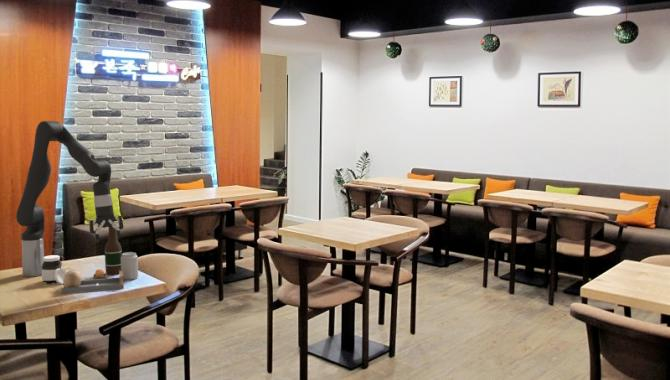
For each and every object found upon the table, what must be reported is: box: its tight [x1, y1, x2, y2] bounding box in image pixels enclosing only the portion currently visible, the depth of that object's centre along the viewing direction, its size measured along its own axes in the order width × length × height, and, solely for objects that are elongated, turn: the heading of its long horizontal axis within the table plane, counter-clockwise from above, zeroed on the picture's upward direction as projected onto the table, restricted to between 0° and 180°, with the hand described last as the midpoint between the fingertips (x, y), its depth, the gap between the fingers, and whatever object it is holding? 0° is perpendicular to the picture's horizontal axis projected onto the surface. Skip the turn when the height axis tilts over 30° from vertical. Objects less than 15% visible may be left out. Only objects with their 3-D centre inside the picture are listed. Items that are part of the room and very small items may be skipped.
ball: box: [94, 268, 106, 277], centre depth 286 cm, size 4×4×4 cm
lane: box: [61, 277, 121, 295], centre depth 277 cm, size 23×11×2 cm, turn 109°
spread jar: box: [41, 254, 68, 285], centre depth 285 cm, size 12×11×12 cm
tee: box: [92, 272, 108, 280], centre depth 286 cm, size 6×6×3 cm
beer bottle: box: [104, 226, 123, 276], centre depth 300 cm, size 8×8×24 cm
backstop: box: [118, 270, 125, 290], centre depth 280 cm, size 2×11×6 cm, turn 19°
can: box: [121, 251, 139, 281], centre depth 292 cm, size 8×8×12 cm
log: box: [62, 269, 82, 288], centre depth 274 cm, size 7×8×7 cm
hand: (108, 240), depth 281 cm, fingers open, 8 cm apart
